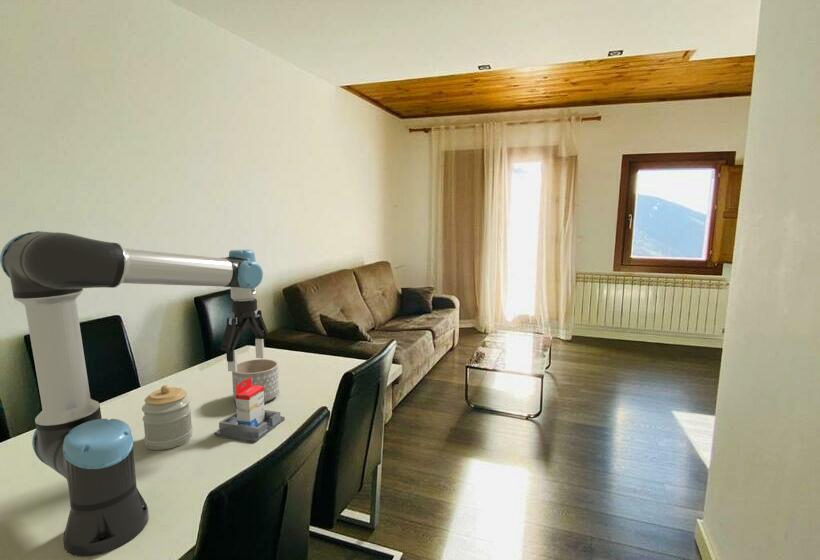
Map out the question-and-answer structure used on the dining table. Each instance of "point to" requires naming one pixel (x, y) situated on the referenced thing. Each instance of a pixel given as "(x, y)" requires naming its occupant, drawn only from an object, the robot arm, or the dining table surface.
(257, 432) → the fixture tray
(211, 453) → the dining table surface
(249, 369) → the planter
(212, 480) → the dining table surface
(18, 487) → the dining table surface
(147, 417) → the jar
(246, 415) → the ink box
